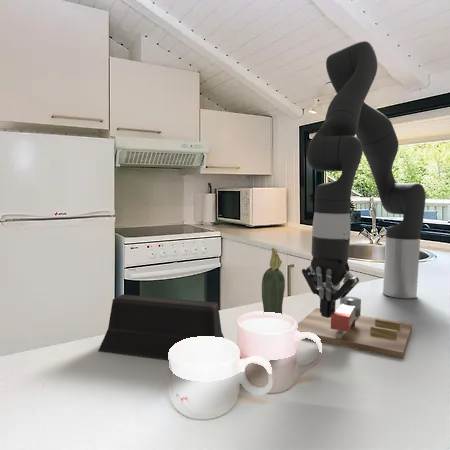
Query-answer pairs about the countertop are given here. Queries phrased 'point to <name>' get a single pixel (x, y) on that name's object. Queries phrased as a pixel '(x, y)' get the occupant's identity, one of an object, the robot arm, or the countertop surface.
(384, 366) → the countertop surface
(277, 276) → the vegetable
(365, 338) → the door board
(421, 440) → the countertop surface
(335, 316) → the bar
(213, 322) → the barrier
